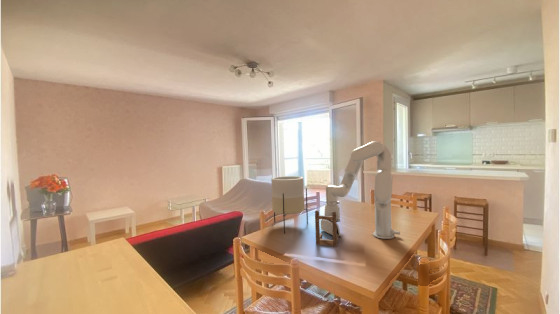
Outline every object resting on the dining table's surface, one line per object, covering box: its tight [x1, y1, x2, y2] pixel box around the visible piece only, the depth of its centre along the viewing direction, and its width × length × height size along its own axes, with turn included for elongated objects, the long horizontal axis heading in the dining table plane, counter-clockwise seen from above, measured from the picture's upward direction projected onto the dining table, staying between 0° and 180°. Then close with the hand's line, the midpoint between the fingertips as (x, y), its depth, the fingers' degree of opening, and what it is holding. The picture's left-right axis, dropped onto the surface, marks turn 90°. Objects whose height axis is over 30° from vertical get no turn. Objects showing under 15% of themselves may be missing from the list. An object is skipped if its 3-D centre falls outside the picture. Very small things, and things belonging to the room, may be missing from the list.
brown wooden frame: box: [314, 209, 339, 248], centre depth 138 cm, size 12×11×20 cm
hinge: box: [320, 219, 343, 238], centre depth 152 cm, size 17×5×10 cm, turn 24°
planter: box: [270, 175, 309, 234], centre depth 170 cm, size 26×27×36 cm
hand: (332, 229), depth 158 cm, fingers closed
